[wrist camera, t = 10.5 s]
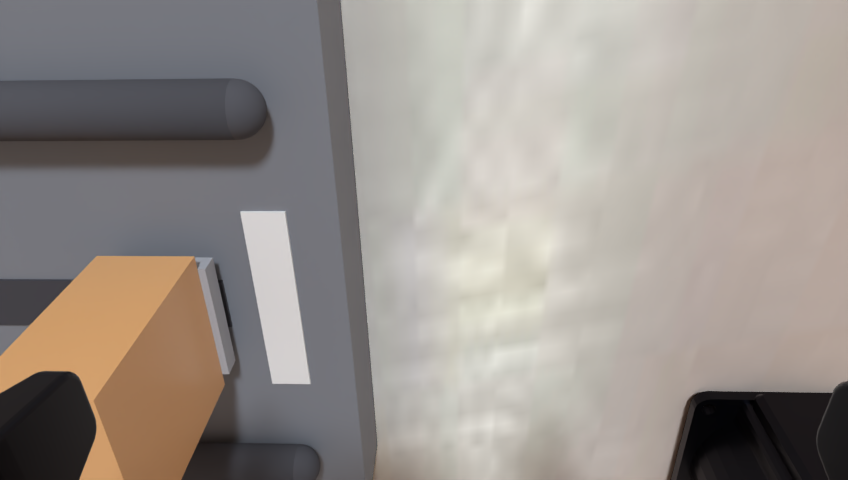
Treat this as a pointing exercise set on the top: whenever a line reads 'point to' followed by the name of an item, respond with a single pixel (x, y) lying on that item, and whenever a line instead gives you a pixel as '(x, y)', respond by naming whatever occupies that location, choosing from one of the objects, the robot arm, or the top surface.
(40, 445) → the robot arm
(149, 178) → the panel
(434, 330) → the top surface
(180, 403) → the breaker handle
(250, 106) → the grey slider track
